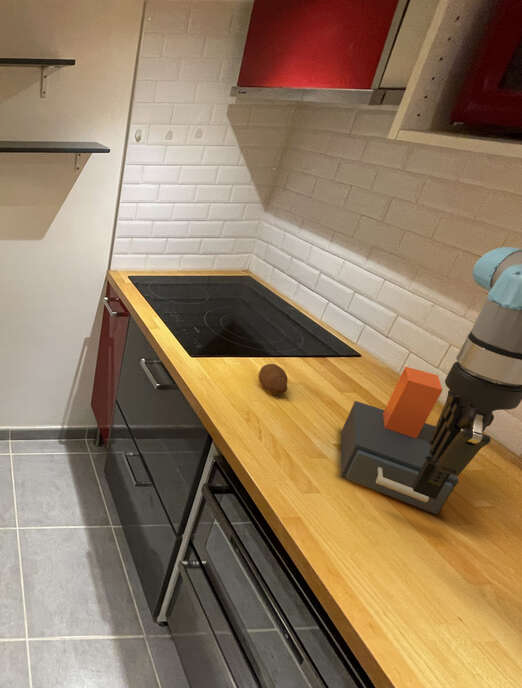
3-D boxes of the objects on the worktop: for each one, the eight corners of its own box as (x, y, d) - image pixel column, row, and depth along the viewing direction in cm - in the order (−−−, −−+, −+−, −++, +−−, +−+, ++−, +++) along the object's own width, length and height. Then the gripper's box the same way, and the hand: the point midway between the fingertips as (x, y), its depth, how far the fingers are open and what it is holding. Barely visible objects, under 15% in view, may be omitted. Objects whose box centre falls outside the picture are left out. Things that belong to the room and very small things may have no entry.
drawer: (440, 531, 79) (457, 504, 76) (345, 493, 86) (358, 466, 83) (425, 462, 94) (439, 437, 91) (346, 434, 101) (356, 410, 98)
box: (413, 422, 94) (438, 375, 89) (416, 438, 89) (442, 390, 84) (382, 412, 96) (405, 366, 91) (384, 428, 92) (408, 380, 87)
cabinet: (437, 515, 83) (459, 481, 80) (340, 476, 91) (356, 444, 87) (425, 460, 96) (444, 428, 92) (341, 430, 103) (354, 400, 100)
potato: (261, 396, 115) (268, 376, 112) (250, 375, 123) (256, 356, 121) (290, 401, 113) (297, 380, 111) (277, 378, 122) (283, 359, 119)
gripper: (545, 406, 56) (462, 534, 66) (516, 360, 66) (448, 477, 75) (463, 385, 60) (396, 507, 70) (447, 344, 70) (391, 457, 79)
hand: (423, 492), depth 73 cm, fingers closed
